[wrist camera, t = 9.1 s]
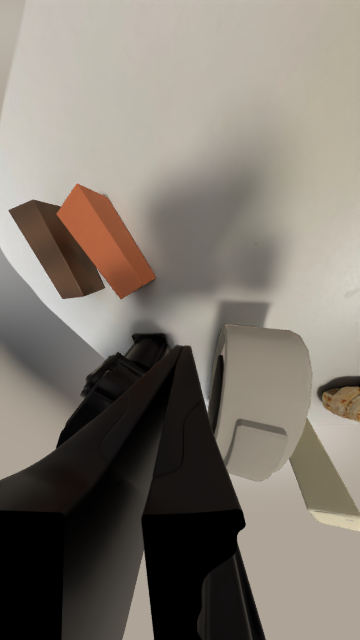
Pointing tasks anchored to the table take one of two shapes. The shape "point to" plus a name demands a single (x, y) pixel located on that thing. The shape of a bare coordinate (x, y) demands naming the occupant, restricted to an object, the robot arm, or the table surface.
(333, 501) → the box
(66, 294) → the walnut bar
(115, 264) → the terracotta bar
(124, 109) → the table surface
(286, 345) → the alarm clock
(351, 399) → the seashell
